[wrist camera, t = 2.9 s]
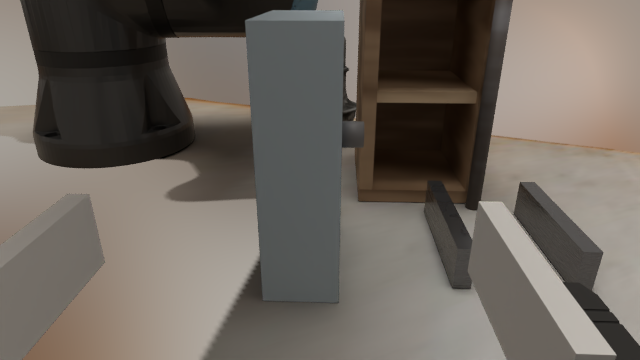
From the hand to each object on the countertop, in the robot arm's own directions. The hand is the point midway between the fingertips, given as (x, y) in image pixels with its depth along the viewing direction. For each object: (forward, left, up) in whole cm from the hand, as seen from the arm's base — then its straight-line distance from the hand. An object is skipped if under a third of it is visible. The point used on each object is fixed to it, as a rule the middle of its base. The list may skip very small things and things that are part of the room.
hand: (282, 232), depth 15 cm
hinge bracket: (-8, +15, -7) cm, 18 cm away
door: (-9, +3, -8) cm, 12 cm away
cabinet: (-20, +14, -7) cm, 25 cm away
